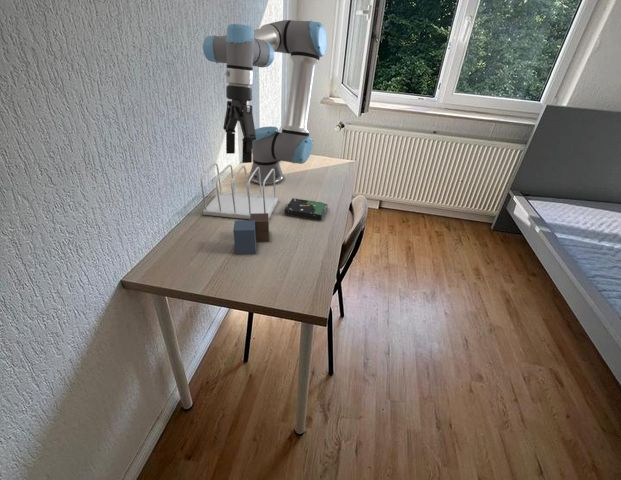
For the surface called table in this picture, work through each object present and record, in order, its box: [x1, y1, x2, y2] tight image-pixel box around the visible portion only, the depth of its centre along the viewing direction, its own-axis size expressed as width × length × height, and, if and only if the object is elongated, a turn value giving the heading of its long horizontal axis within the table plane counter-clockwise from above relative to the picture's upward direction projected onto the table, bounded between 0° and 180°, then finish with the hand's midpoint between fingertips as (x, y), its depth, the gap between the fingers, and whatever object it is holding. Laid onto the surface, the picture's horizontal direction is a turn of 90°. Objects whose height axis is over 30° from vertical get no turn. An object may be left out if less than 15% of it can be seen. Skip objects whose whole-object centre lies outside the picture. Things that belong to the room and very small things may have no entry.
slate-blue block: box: [232, 219, 257, 255], centre depth 112 cm, size 6×6×9 cm
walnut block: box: [249, 213, 270, 243], centre depth 118 cm, size 6×6×8 cm
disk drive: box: [284, 197, 329, 221], centre depth 136 cm, size 10×3×15 cm
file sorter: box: [200, 162, 279, 220], centre depth 133 cm, size 25×17×16 cm
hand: (238, 157), depth 111 cm, fingers open, 13 cm apart
